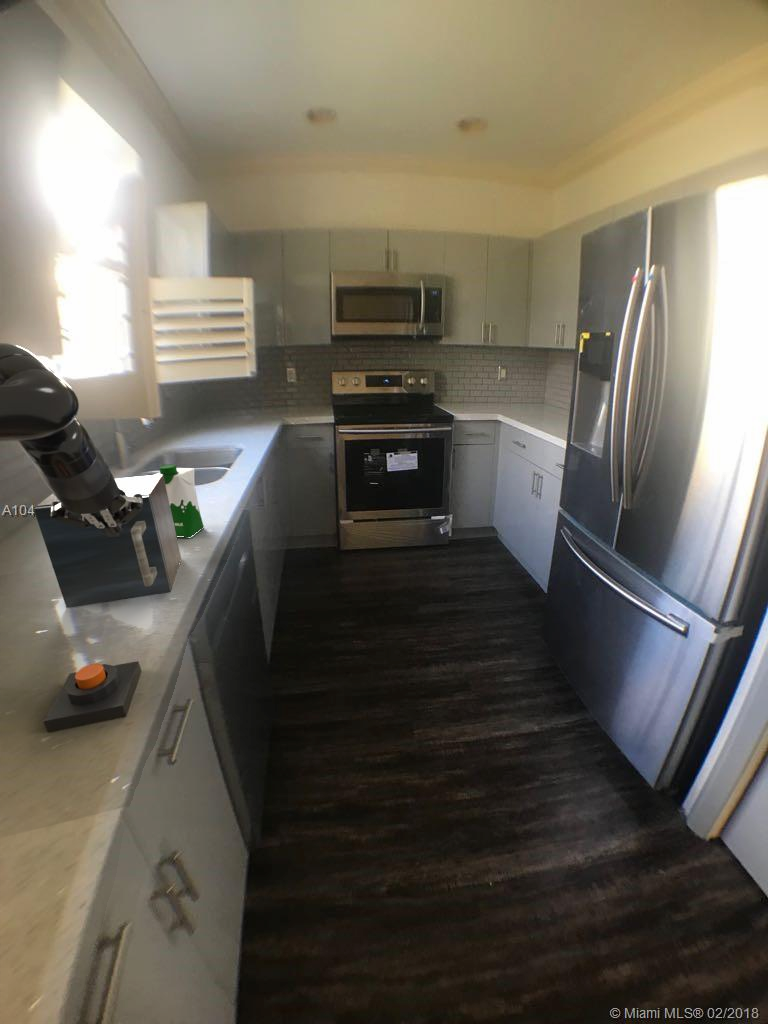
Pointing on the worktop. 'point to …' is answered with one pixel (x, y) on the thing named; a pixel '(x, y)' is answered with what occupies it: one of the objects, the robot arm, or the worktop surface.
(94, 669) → the release button
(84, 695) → the panel
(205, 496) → the worktop surface
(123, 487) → the cupboard
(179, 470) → the milk carton
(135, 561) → the door
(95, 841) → the worktop surface
